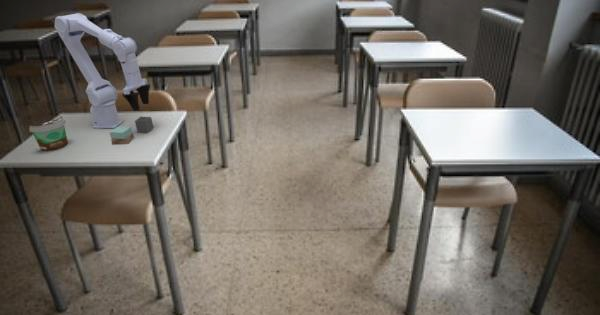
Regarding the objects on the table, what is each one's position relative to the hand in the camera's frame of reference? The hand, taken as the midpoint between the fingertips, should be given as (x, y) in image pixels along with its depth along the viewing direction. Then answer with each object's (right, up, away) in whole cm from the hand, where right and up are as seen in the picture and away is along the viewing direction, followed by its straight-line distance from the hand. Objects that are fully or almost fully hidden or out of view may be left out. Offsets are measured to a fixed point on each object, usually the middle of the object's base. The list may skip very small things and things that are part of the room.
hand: (141, 107), depth 161 cm
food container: (-28, -16, -7) cm, 33 cm away
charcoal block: (0, -9, +4) cm, 10 cm away
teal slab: (-5, -11, -5) cm, 14 cm away
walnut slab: (-5, -14, -4) cm, 15 cm away
